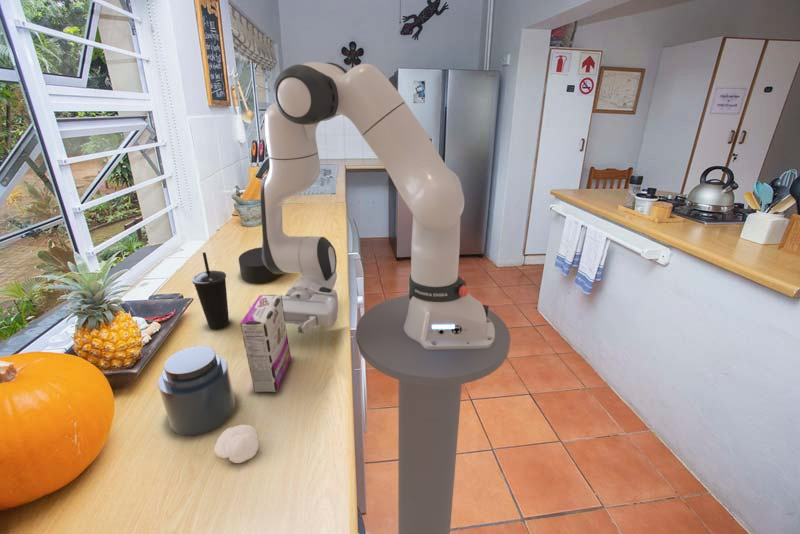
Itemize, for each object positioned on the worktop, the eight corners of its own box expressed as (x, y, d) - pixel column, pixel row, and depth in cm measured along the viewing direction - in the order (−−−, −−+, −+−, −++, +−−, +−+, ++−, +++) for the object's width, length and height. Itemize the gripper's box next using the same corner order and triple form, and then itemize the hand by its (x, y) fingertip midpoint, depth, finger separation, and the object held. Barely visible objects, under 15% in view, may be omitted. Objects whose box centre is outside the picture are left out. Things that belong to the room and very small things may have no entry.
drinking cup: (215, 335, 95) (198, 261, 88) (196, 327, 99) (179, 254, 91) (241, 322, 101) (228, 251, 94) (222, 314, 105) (208, 245, 97)
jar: (246, 395, 76) (236, 344, 71) (213, 439, 66) (199, 383, 61) (195, 389, 78) (182, 338, 73) (155, 431, 68) (137, 376, 63)
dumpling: (262, 438, 67) (262, 424, 65) (254, 467, 62) (254, 454, 60) (219, 435, 66) (218, 421, 63) (209, 465, 61) (207, 451, 59)
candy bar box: (269, 359, 87) (259, 294, 80) (291, 359, 87) (283, 294, 80) (252, 393, 76) (238, 322, 70) (277, 393, 76) (266, 322, 70)
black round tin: (237, 288, 122) (234, 267, 119) (244, 264, 137) (242, 244, 134) (285, 285, 125) (283, 265, 122) (287, 261, 141) (285, 243, 137)
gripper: (263, 285, 97) (233, 312, 84) (342, 290, 94) (323, 319, 81) (267, 307, 99) (238, 336, 86) (344, 313, 96) (325, 344, 84)
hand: (280, 328), depth 84 cm, fingers open, 8 cm apart
